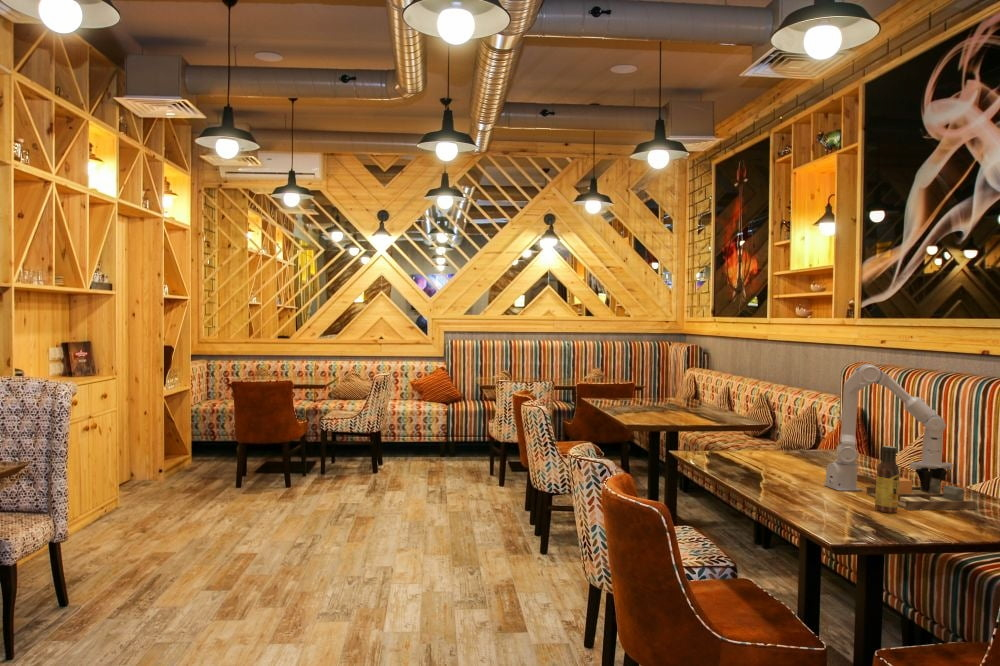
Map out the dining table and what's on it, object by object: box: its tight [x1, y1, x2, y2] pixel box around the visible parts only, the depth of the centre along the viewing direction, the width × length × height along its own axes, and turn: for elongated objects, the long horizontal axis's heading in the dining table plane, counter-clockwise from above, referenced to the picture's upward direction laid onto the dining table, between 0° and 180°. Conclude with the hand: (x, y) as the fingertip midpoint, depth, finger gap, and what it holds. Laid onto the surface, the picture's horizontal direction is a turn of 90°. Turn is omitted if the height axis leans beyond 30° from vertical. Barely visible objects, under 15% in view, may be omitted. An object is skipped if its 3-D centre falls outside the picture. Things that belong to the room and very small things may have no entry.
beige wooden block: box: [912, 477, 941, 494], centre depth 238 cm, size 16×7×6 cm, turn 100°
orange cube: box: [899, 477, 913, 494], centre depth 237 cm, size 4×4×4 cm
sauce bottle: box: [874, 445, 901, 514], centre depth 220 cm, size 7×6×20 cm
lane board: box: [866, 484, 976, 511], centre depth 233 cm, size 24×19×6 cm
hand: (929, 490), depth 239 cm, fingers closed on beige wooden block, 3 cm apart
